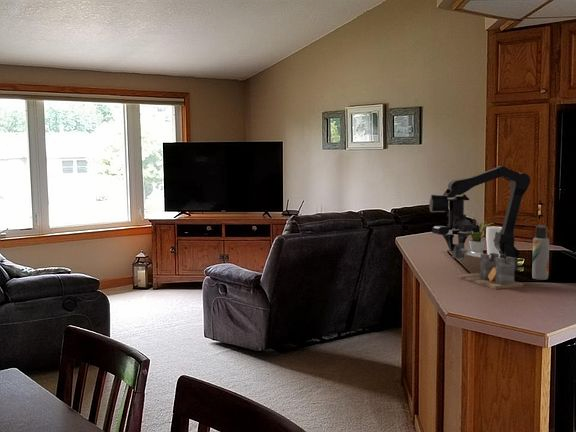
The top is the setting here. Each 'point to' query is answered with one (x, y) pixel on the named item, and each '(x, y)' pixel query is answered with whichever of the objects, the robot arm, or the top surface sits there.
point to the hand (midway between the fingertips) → (455, 250)
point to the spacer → (492, 274)
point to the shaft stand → (502, 272)
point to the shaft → (465, 252)
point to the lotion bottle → (540, 254)
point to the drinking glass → (490, 237)
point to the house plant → (477, 239)
